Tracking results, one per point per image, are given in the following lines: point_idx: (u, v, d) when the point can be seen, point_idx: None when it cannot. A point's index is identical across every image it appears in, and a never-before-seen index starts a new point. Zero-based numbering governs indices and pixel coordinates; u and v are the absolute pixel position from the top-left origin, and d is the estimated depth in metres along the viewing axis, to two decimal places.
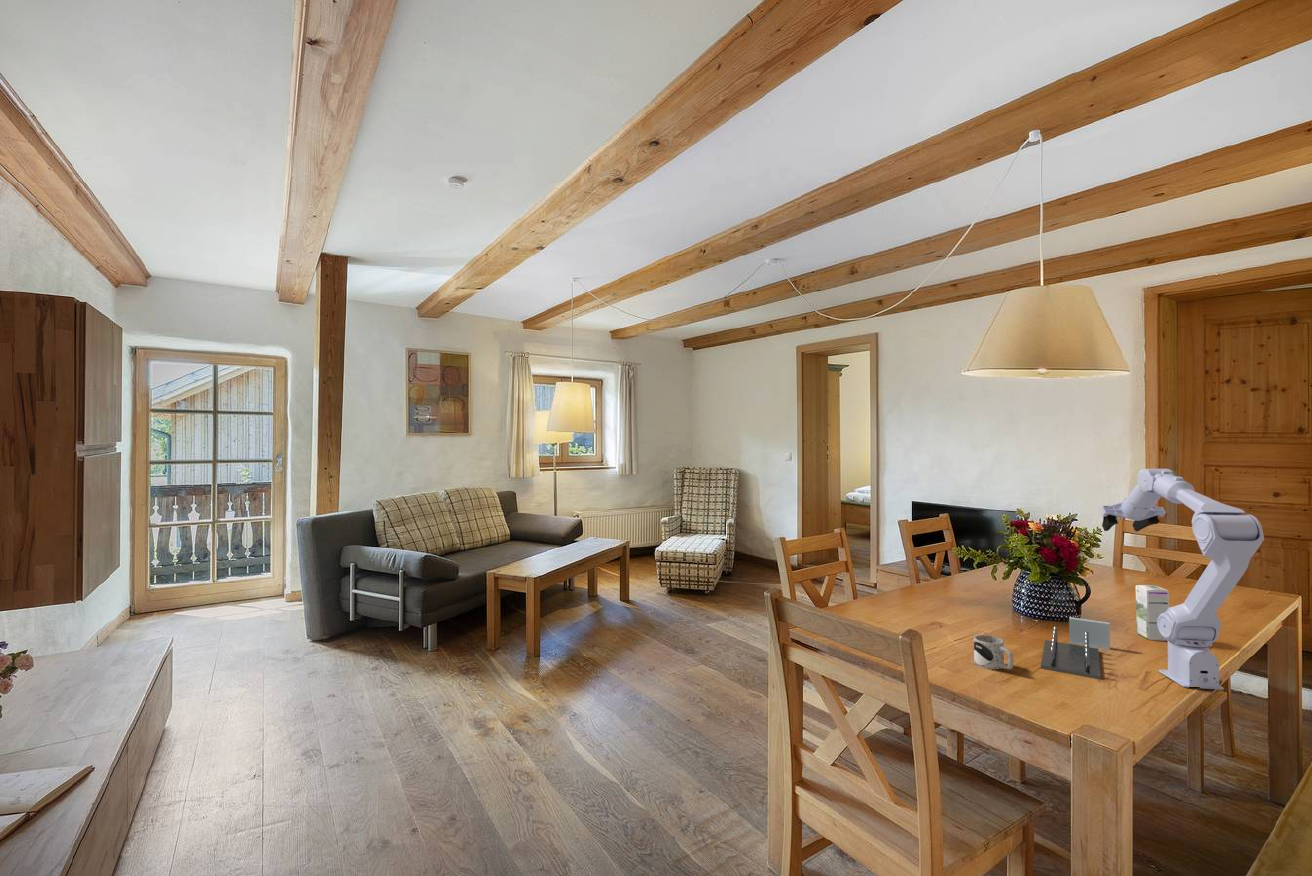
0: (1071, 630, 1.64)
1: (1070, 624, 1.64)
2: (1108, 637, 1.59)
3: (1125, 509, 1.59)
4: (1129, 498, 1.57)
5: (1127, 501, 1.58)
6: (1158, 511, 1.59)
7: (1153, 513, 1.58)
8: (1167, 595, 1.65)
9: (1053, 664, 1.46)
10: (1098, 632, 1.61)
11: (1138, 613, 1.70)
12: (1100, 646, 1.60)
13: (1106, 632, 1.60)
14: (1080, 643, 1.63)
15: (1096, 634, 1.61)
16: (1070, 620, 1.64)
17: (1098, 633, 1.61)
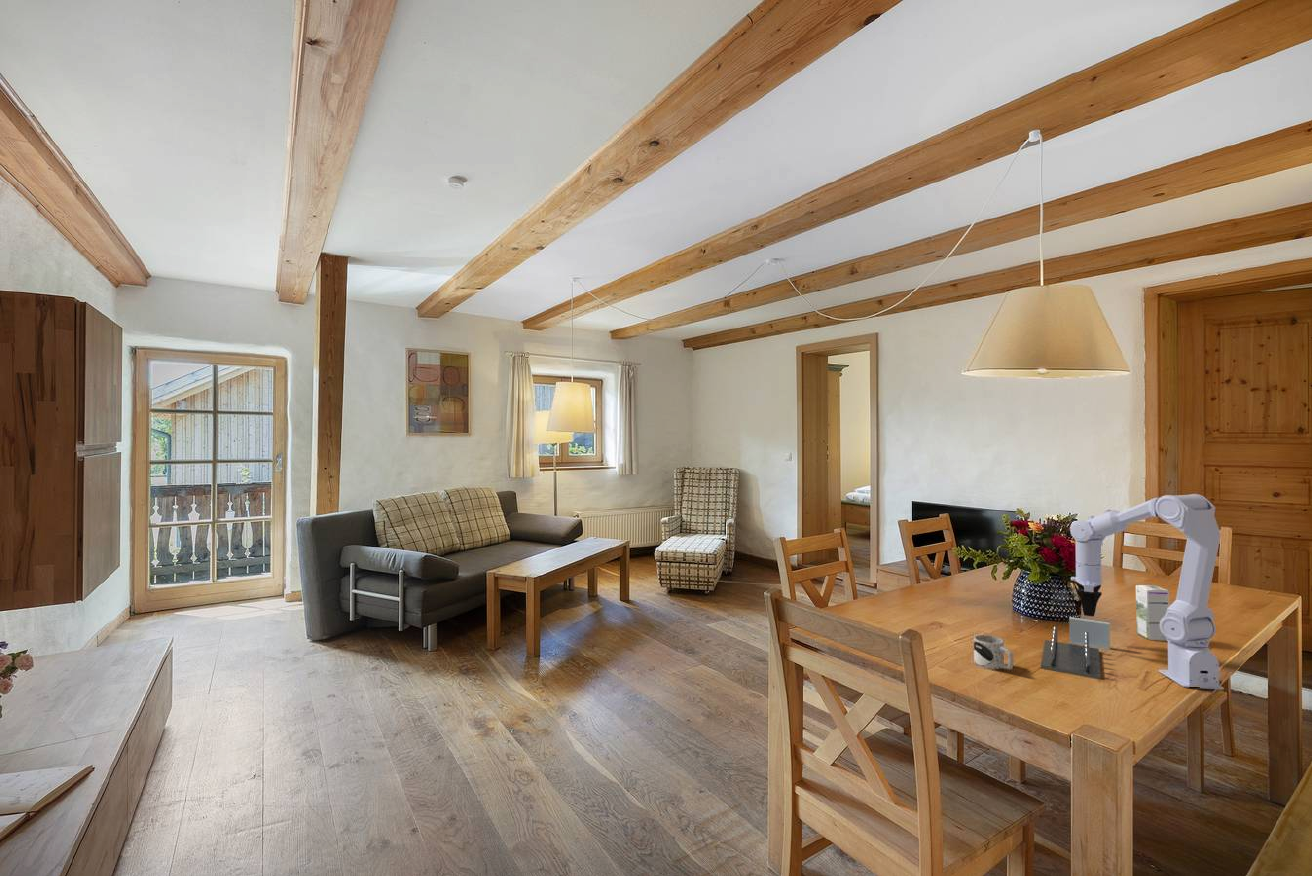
0: (1071, 630, 1.64)
1: (1070, 624, 1.64)
2: (1108, 637, 1.59)
3: (1091, 577, 1.60)
4: (1079, 562, 1.62)
5: (1087, 568, 1.60)
6: None
7: None
8: (1167, 595, 1.65)
9: (1053, 664, 1.46)
10: (1098, 632, 1.61)
11: (1138, 613, 1.70)
12: (1100, 646, 1.60)
13: (1106, 632, 1.60)
14: (1080, 643, 1.63)
15: (1096, 634, 1.61)
16: (1070, 620, 1.64)
17: (1098, 633, 1.61)
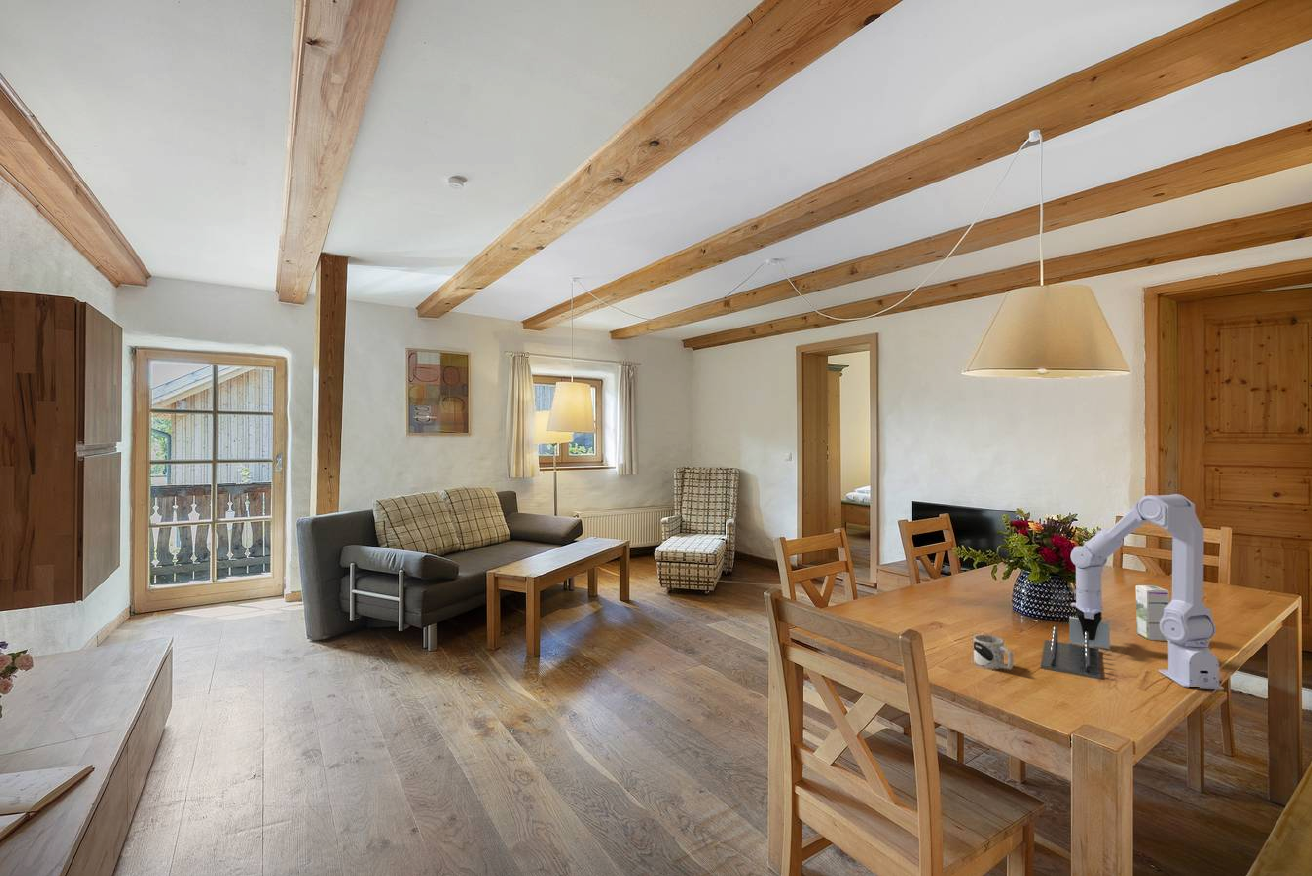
0: (1070, 630, 1.64)
1: (1070, 624, 1.64)
2: (1108, 637, 1.59)
3: (1092, 603, 1.60)
4: (1079, 588, 1.62)
5: (1087, 594, 1.60)
6: None
7: None
8: (1167, 595, 1.65)
9: (1053, 664, 1.46)
10: (1098, 632, 1.61)
11: (1138, 613, 1.70)
12: (1100, 646, 1.60)
13: (1106, 632, 1.60)
14: (1080, 643, 1.63)
15: (1096, 634, 1.61)
16: (1070, 620, 1.64)
17: (1098, 633, 1.61)
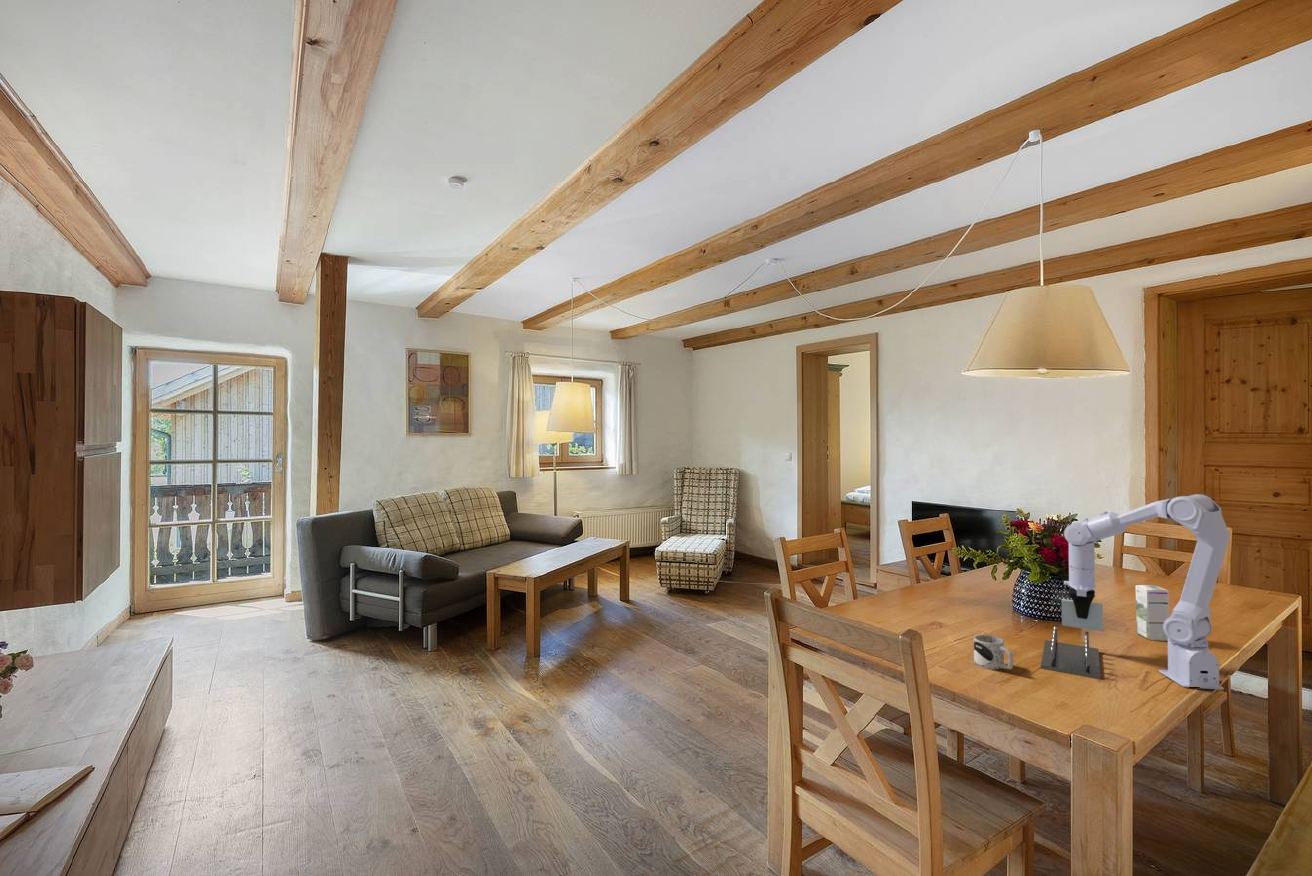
0: (1063, 612, 1.61)
1: (1062, 606, 1.61)
2: (1101, 618, 1.56)
3: (1085, 581, 1.56)
4: (1075, 566, 1.58)
5: (1080, 572, 1.57)
6: None
7: None
8: (1167, 595, 1.65)
9: (1053, 664, 1.46)
10: (1091, 613, 1.57)
11: (1138, 613, 1.70)
12: (1093, 628, 1.57)
13: (1099, 614, 1.56)
14: (1073, 625, 1.59)
15: (1089, 616, 1.57)
16: (1062, 602, 1.61)
17: (1091, 614, 1.57)
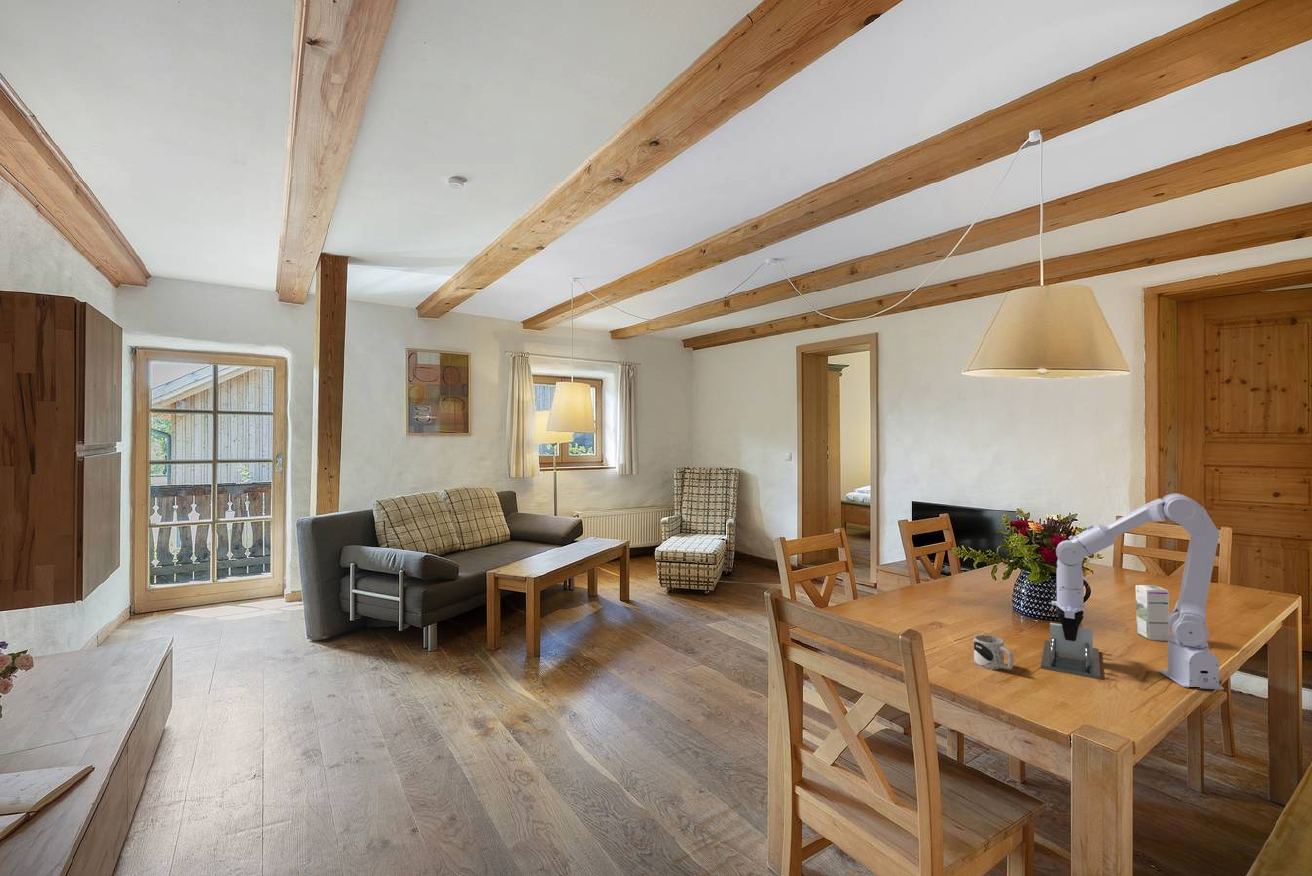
0: (1051, 636, 1.54)
1: (1051, 630, 1.54)
2: (1091, 644, 1.49)
3: (1073, 602, 1.50)
4: (1068, 587, 1.50)
5: (1068, 592, 1.50)
6: None
7: None
8: (1167, 595, 1.65)
9: (1053, 664, 1.46)
10: (1080, 639, 1.50)
11: (1138, 613, 1.70)
12: (1082, 654, 1.50)
13: (1089, 639, 1.49)
14: (1061, 650, 1.53)
15: (1078, 641, 1.51)
16: (1051, 626, 1.54)
17: (1080, 640, 1.50)
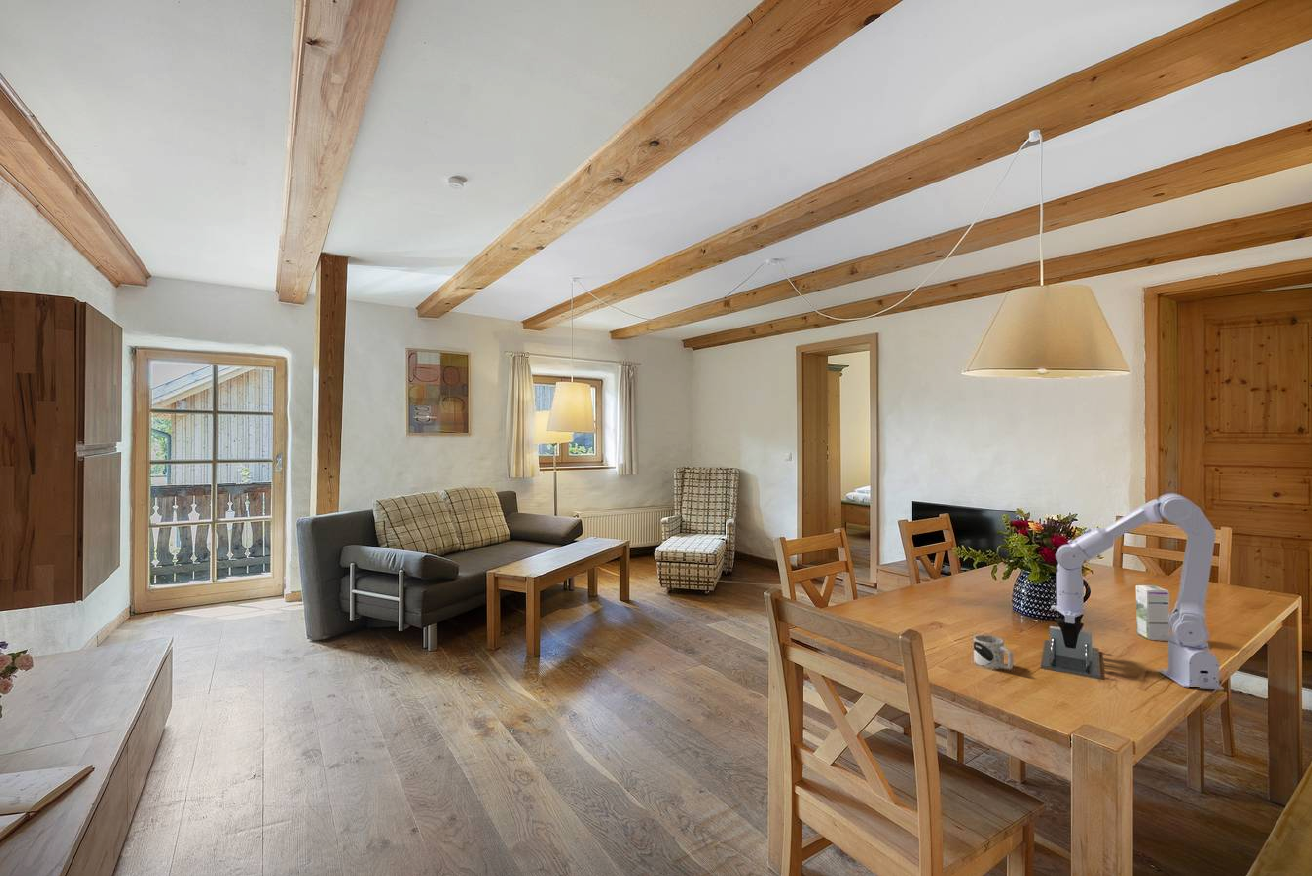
0: (1051, 640, 1.54)
1: (1051, 633, 1.54)
2: (1091, 648, 1.49)
3: (1073, 606, 1.50)
4: (1068, 591, 1.50)
5: (1068, 596, 1.50)
6: None
7: None
8: (1167, 595, 1.65)
9: (1053, 664, 1.46)
10: (1080, 642, 1.50)
11: (1138, 613, 1.70)
12: (1082, 657, 1.50)
13: (1089, 643, 1.49)
14: (1061, 654, 1.53)
15: (1078, 644, 1.51)
16: (1051, 629, 1.54)
17: (1080, 643, 1.50)
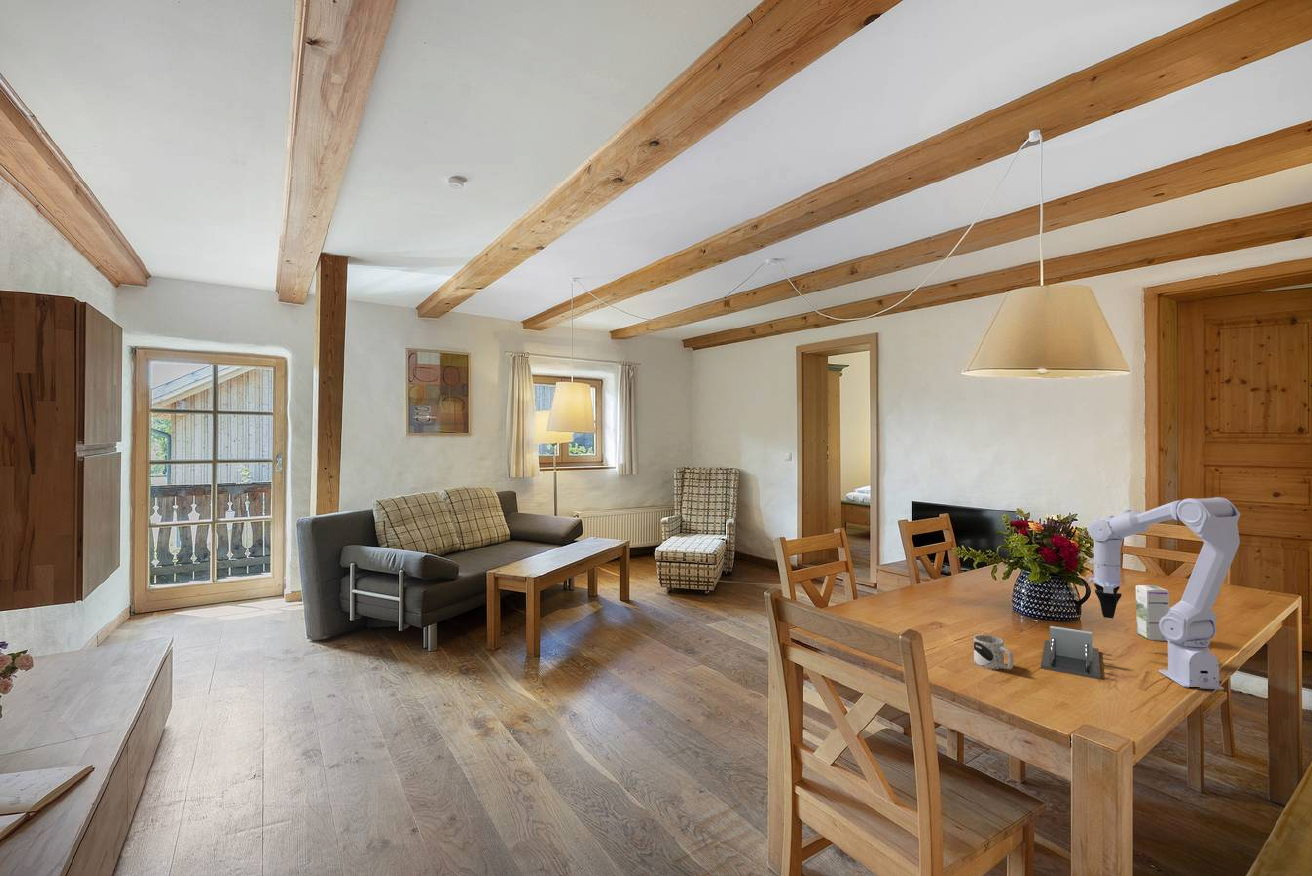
0: (1051, 640, 1.54)
1: (1051, 633, 1.54)
2: (1091, 648, 1.49)
3: (1111, 578, 1.56)
4: (1097, 562, 1.58)
5: (1106, 569, 1.56)
6: None
7: None
8: (1167, 595, 1.65)
9: (1053, 664, 1.46)
10: (1080, 642, 1.50)
11: (1138, 613, 1.70)
12: (1082, 657, 1.50)
13: (1089, 643, 1.49)
14: (1061, 654, 1.53)
15: (1078, 644, 1.51)
16: (1051, 629, 1.54)
17: (1080, 643, 1.50)
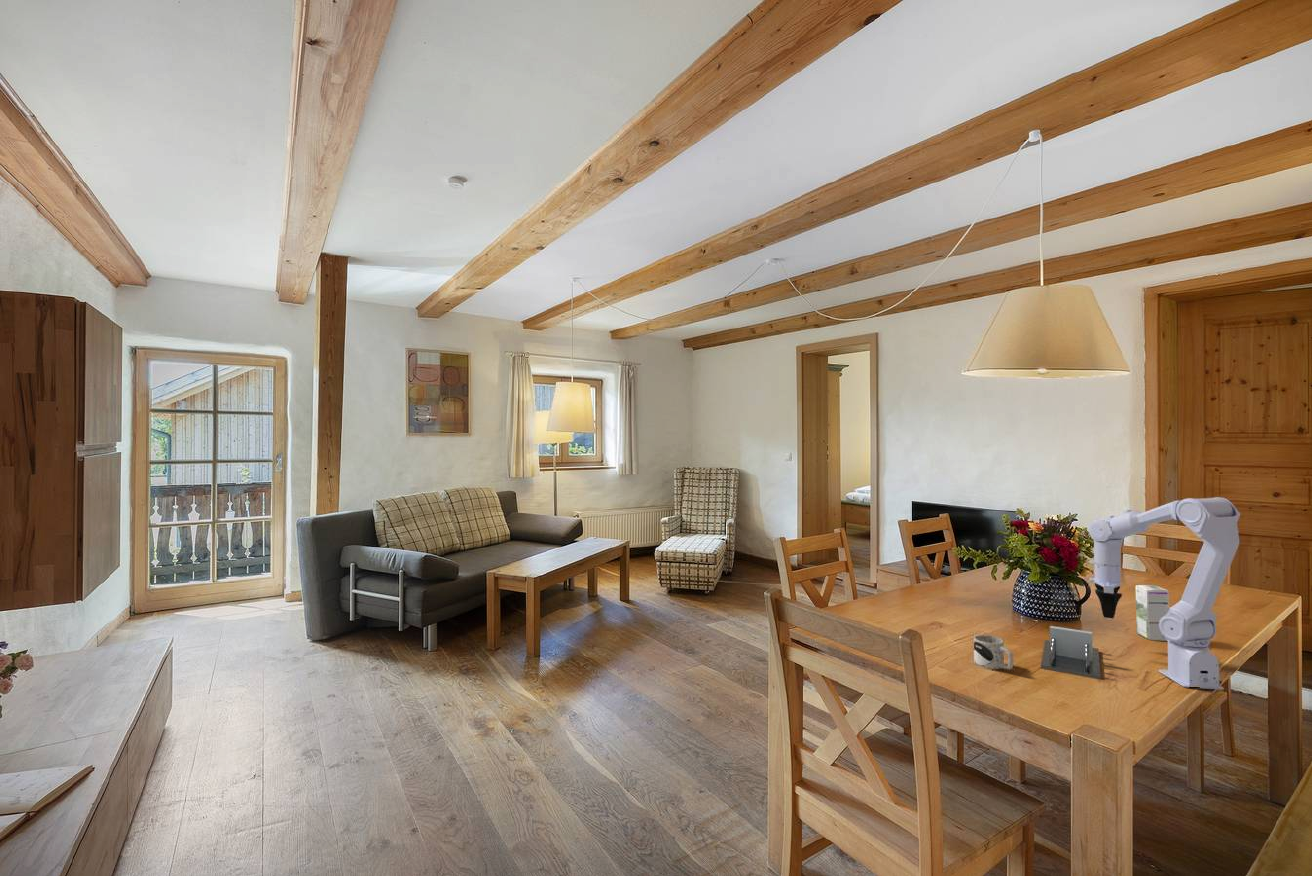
0: (1051, 640, 1.54)
1: (1051, 633, 1.54)
2: (1091, 648, 1.49)
3: (1111, 578, 1.56)
4: (1097, 562, 1.58)
5: (1106, 569, 1.56)
6: None
7: None
8: (1167, 595, 1.65)
9: (1053, 664, 1.46)
10: (1080, 642, 1.50)
11: (1138, 613, 1.70)
12: (1082, 657, 1.50)
13: (1089, 643, 1.49)
14: (1061, 654, 1.53)
15: (1078, 644, 1.51)
16: (1051, 629, 1.54)
17: (1080, 643, 1.50)
